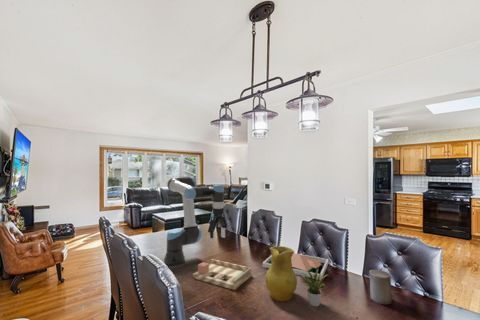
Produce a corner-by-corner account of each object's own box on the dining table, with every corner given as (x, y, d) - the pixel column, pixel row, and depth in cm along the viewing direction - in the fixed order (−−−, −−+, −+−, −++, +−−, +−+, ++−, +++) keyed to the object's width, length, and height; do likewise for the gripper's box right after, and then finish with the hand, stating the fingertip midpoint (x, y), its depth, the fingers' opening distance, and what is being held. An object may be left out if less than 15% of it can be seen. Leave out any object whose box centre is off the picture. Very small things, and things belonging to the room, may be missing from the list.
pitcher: (258, 294, 127) (260, 247, 128) (278, 284, 140) (280, 242, 141) (284, 308, 114) (286, 257, 116) (303, 296, 127) (305, 250, 129)
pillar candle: (393, 299, 123) (391, 270, 123) (389, 307, 115) (388, 276, 116) (372, 293, 129) (371, 265, 130) (368, 300, 122) (367, 271, 123)
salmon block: (197, 272, 149) (198, 264, 149) (202, 269, 153) (202, 262, 153) (204, 274, 146) (204, 266, 146) (208, 271, 151) (208, 263, 151)
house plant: (324, 295, 126) (324, 264, 127) (336, 310, 113) (335, 276, 113) (299, 295, 126) (298, 265, 127) (307, 311, 112) (306, 276, 113)
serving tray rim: (262, 267, 163) (262, 262, 163) (277, 253, 190) (277, 250, 190) (321, 280, 144) (321, 275, 144) (328, 263, 170) (328, 259, 170)
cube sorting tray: (193, 277, 147) (193, 269, 147) (212, 266, 165) (212, 259, 165) (235, 290, 132) (235, 281, 132) (251, 275, 150) (251, 267, 150)
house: (311, 277, 147) (310, 264, 147) (268, 263, 169) (268, 252, 169) (325, 267, 164) (325, 255, 164) (285, 255, 186) (285, 245, 186)
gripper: (212, 211, 141) (212, 246, 140) (232, 205, 163) (231, 235, 162) (202, 210, 144) (202, 244, 143) (222, 204, 166) (222, 234, 166)
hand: (217, 240), depth 153 cm, fingers open, 13 cm apart
